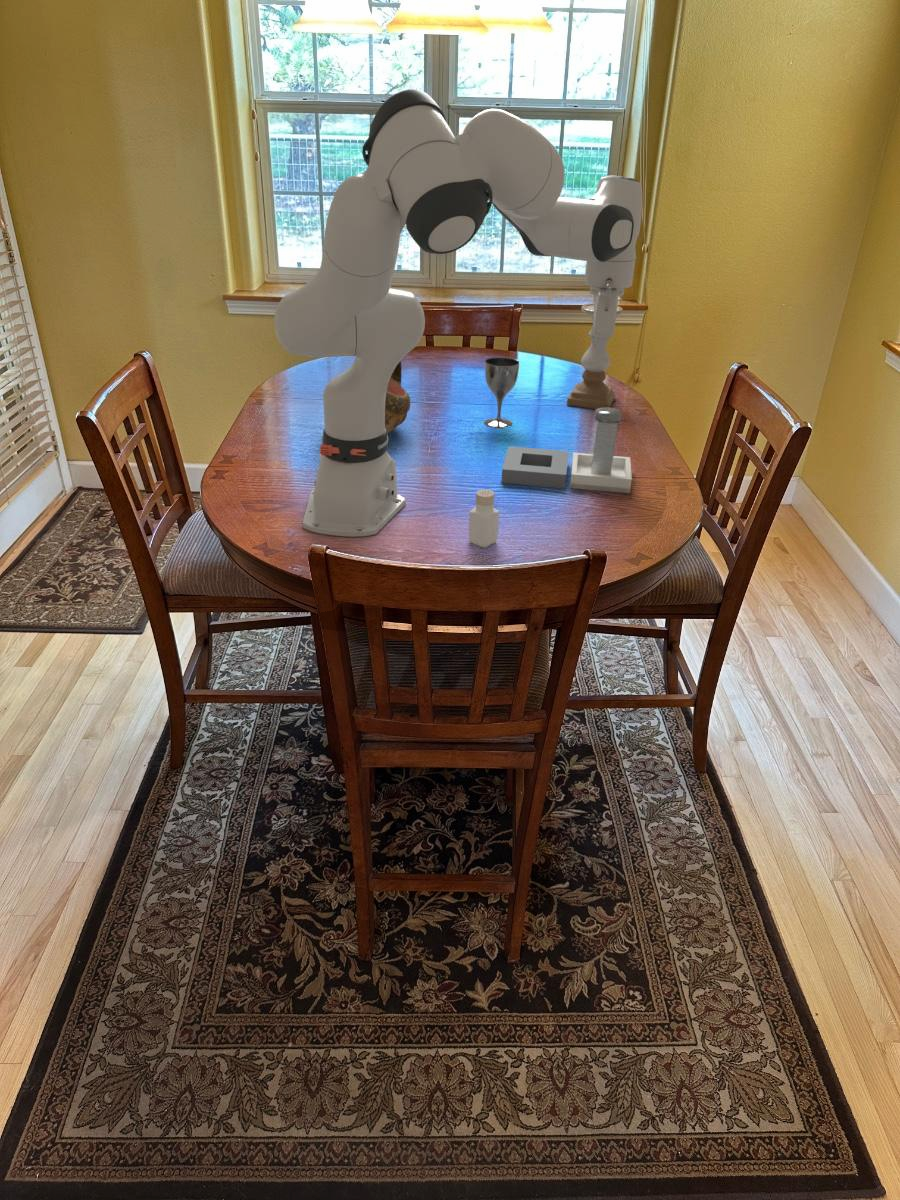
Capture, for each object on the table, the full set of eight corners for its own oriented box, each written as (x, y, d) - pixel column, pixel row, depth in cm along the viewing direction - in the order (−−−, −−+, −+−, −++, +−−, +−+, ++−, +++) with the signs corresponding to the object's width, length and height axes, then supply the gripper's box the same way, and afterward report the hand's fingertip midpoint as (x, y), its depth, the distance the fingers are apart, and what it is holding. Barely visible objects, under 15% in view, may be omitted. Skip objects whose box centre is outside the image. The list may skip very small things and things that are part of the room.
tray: (629, 493, 162) (631, 479, 160) (569, 487, 163) (571, 474, 162) (628, 470, 172) (630, 457, 170) (571, 465, 173) (573, 452, 172)
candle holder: (608, 410, 205) (621, 314, 192) (565, 405, 208) (576, 309, 195) (614, 398, 214) (627, 305, 201) (574, 393, 217) (584, 300, 204)
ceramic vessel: (312, 449, 178) (304, 333, 164) (360, 413, 199) (357, 308, 185) (383, 460, 173) (381, 342, 160) (425, 422, 194) (426, 315, 181)
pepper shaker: (484, 549, 140) (486, 499, 135) (466, 542, 142) (468, 492, 137) (498, 542, 143) (501, 493, 138) (481, 534, 145) (483, 486, 140)
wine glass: (504, 431, 190) (509, 368, 182) (476, 424, 194) (478, 362, 186) (520, 422, 196) (525, 360, 188) (492, 415, 200) (495, 354, 192)
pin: (613, 480, 165) (622, 416, 157) (587, 478, 165) (595, 414, 158) (612, 470, 169) (621, 408, 162) (587, 468, 170) (595, 406, 162)
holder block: (564, 488, 163) (566, 474, 161) (501, 482, 165) (502, 469, 163) (567, 464, 174) (568, 451, 172) (507, 459, 176) (508, 446, 174)
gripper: (628, 286, 139) (617, 366, 147) (625, 266, 156) (615, 338, 164) (591, 284, 140) (582, 363, 147) (592, 264, 157) (584, 336, 164)
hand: (599, 350), depth 156 cm, fingers open, 8 cm apart
